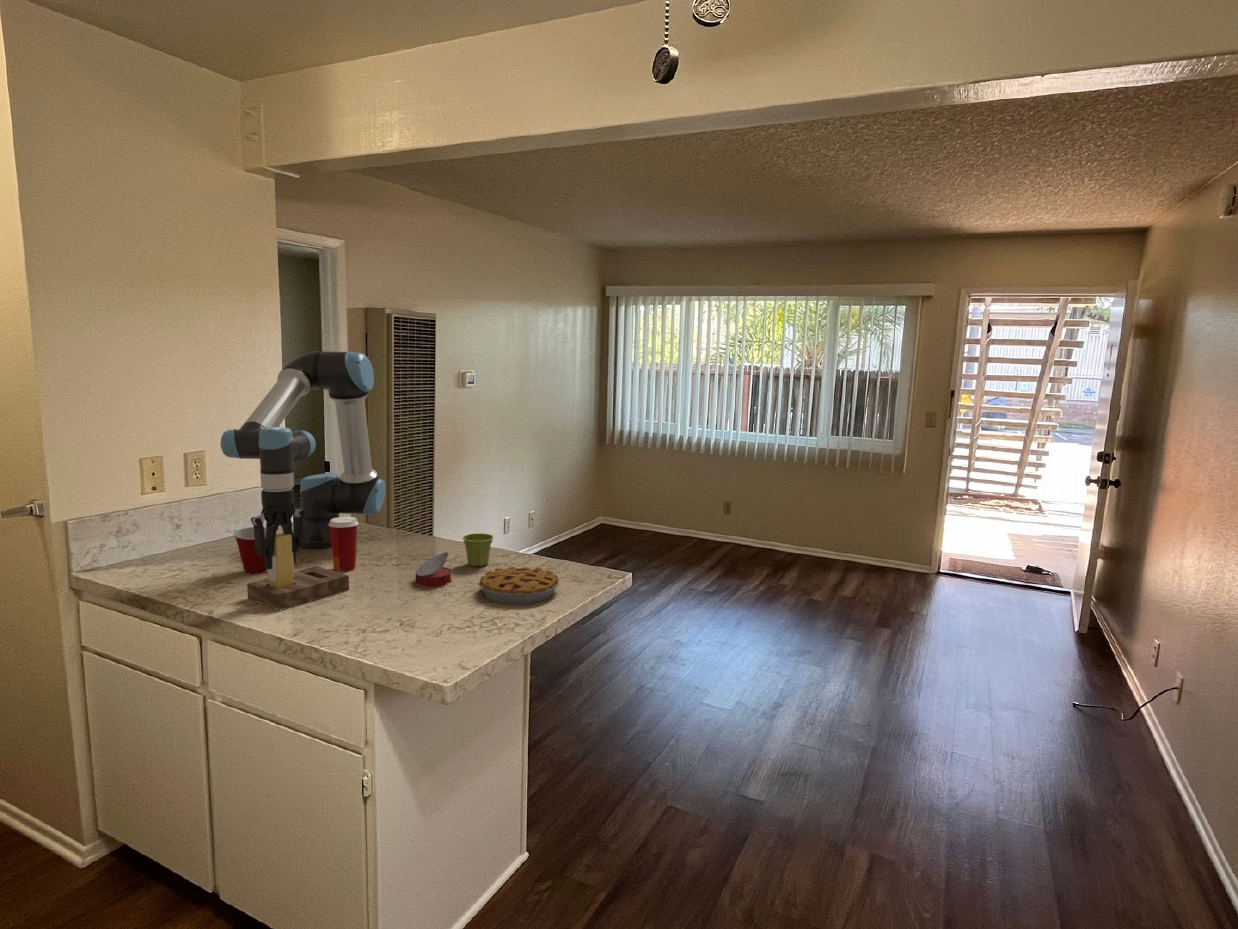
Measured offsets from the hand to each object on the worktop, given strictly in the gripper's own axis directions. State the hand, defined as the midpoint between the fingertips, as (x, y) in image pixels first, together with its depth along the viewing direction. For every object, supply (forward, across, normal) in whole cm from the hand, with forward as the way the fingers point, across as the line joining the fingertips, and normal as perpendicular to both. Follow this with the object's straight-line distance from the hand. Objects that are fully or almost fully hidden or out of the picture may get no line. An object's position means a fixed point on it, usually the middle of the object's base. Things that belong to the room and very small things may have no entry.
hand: (281, 578), depth 182 cm
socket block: (+6, -5, 0) cm, 8 cm away
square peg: (+3, 0, 0) cm, 3 cm away
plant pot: (+6, -54, +17) cm, 57 cm away
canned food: (+6, -34, +19) cm, 39 cm away
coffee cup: (+6, -26, -10) cm, 28 cm away
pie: (+6, -42, +44) cm, 61 cm away
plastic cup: (+6, -9, -27) cm, 29 cm away
